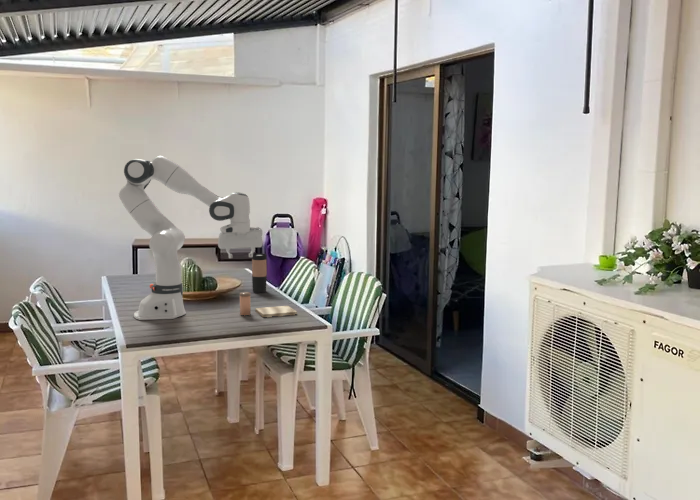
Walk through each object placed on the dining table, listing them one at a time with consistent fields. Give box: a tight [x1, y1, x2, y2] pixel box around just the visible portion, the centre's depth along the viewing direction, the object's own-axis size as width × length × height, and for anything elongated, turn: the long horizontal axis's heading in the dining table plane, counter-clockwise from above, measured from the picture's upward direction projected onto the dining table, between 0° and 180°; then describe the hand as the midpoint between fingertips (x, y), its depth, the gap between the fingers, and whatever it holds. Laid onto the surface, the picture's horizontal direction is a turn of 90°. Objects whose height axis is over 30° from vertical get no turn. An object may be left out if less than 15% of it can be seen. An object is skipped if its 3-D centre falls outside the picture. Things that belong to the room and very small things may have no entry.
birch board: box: [255, 305, 298, 318], centre depth 302 cm, size 16×13×2 cm
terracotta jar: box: [239, 291, 252, 317], centre depth 297 cm, size 5×5×10 cm
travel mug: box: [251, 253, 267, 294], centre depth 347 cm, size 8×8×20 cm
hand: (240, 257), depth 301 cm, fingers open, 8 cm apart
